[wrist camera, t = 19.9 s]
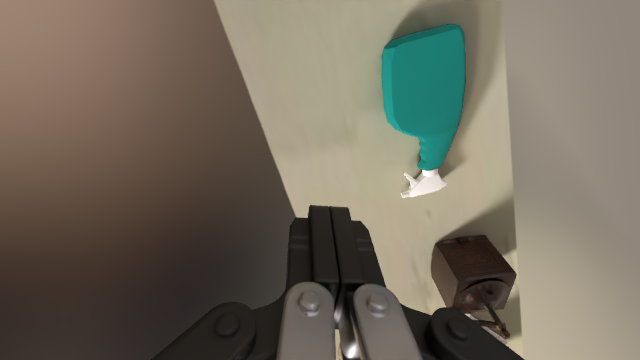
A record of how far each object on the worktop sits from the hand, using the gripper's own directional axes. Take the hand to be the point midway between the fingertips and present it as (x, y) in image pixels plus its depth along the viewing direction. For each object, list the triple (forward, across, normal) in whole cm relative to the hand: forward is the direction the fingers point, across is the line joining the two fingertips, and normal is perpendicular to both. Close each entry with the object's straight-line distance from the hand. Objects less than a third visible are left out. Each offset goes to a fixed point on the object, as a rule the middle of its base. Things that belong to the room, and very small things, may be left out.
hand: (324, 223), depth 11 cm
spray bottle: (+30, -17, +5) cm, 35 cm away
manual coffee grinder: (+30, -32, +32) cm, 54 cm away
